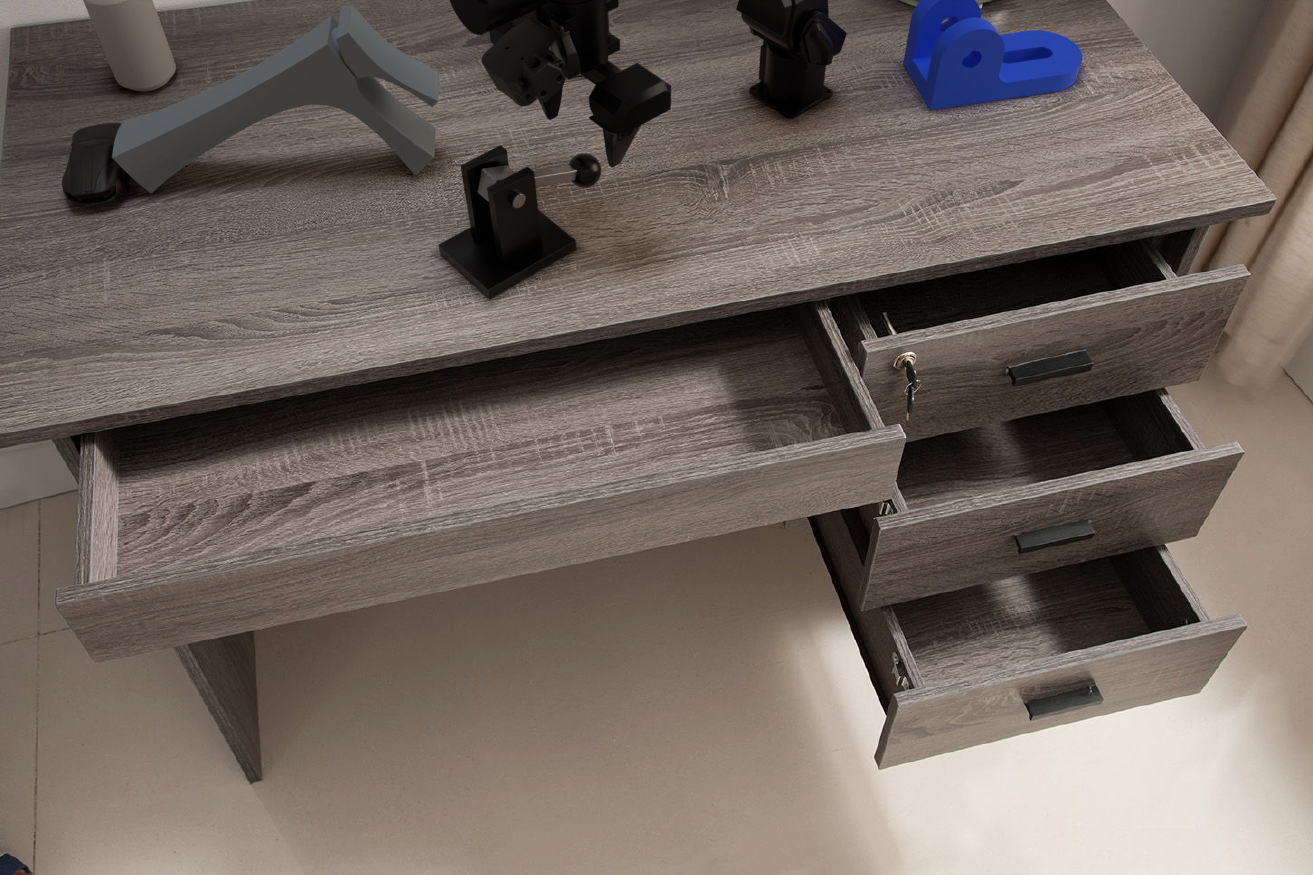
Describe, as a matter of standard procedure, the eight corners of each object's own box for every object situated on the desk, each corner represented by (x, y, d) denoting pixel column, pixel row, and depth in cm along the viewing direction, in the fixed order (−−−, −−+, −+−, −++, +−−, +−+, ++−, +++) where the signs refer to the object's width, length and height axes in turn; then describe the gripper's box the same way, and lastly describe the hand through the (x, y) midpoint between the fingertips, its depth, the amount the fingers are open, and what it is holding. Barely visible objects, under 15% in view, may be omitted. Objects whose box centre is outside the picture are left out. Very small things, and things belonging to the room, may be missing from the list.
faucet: (230, 268, 128) (474, 153, 119) (109, 157, 116) (371, 19, 107) (238, 229, 132) (475, 114, 123) (121, 117, 120) (375, -19, 111)
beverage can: (124, 101, 130) (82, -1, 121) (111, 70, 134) (69, -32, 124) (184, 84, 132) (147, -18, 123) (170, 54, 135) (133, -48, 126)
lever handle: (582, 175, 118) (590, 145, 116) (603, 191, 116) (611, 161, 115) (473, 193, 110) (478, 161, 108) (494, 211, 108) (500, 179, 106)
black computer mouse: (140, 134, 127) (128, 103, 124) (127, 210, 119) (113, 179, 116) (83, 140, 126) (69, 109, 123) (66, 217, 119) (50, 186, 116)
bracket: (930, 110, 128) (945, 34, 121) (903, 64, 133) (916, -11, 126) (1090, 86, 130) (1114, 10, 123) (1057, 42, 136) (1078, -33, 129)
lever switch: (525, 207, 119) (515, 124, 111) (576, 250, 115) (570, 166, 107) (439, 254, 115) (423, 170, 107) (489, 299, 111) (476, 216, 103)
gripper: (426, -26, 102) (452, 129, 114) (564, 74, 93) (577, 231, 105) (533, -72, 106) (547, 82, 118) (675, 19, 97) (675, 176, 109)
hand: (583, 141), depth 113 cm, fingers open, 9 cm apart
